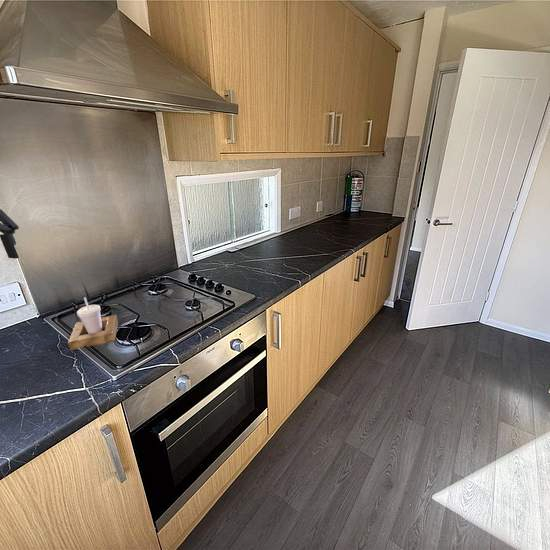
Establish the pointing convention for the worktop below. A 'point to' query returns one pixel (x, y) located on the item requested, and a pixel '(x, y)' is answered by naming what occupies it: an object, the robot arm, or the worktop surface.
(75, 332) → the wooden tray
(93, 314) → the smoothie
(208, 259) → the worktop surface
